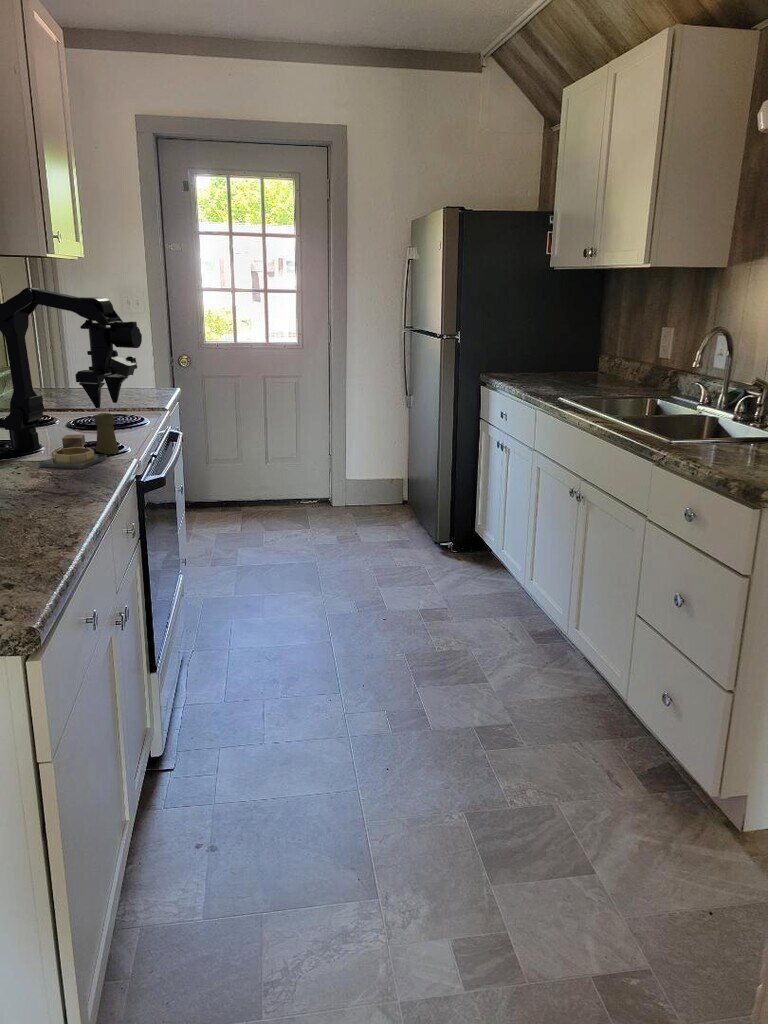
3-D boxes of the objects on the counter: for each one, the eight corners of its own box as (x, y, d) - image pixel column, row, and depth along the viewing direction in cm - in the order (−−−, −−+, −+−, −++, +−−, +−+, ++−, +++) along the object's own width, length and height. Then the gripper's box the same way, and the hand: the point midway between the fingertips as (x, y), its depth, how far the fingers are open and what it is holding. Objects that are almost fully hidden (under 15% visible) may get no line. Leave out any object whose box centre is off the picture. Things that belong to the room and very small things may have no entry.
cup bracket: (39, 466, 195) (38, 455, 194) (65, 456, 206) (64, 445, 205) (83, 468, 193) (81, 457, 192) (106, 458, 204) (105, 447, 203)
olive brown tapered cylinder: (122, 451, 213) (119, 412, 210) (113, 455, 207) (109, 415, 204) (102, 450, 214) (98, 411, 210) (92, 455, 208) (87, 415, 205)
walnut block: (63, 452, 211) (62, 438, 210) (67, 448, 216) (65, 434, 215) (82, 452, 212) (81, 437, 211) (85, 448, 217) (84, 434, 216)
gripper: (112, 351, 192) (117, 412, 196) (146, 345, 209) (150, 401, 214) (71, 349, 193) (77, 410, 198) (108, 343, 211) (113, 399, 216)
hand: (106, 405), depth 206 cm, fingers open, 9 cm apart
